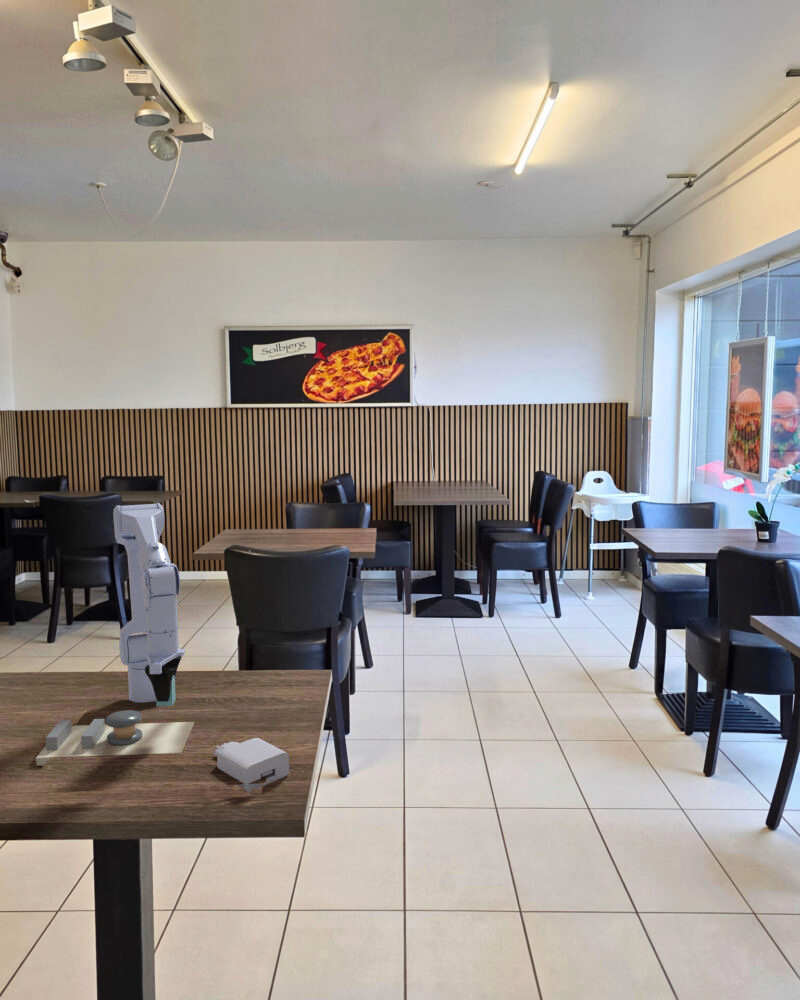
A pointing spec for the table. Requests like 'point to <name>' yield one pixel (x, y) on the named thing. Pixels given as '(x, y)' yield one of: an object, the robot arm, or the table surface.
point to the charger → (252, 762)
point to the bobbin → (124, 728)
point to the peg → (172, 695)
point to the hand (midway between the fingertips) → (164, 697)
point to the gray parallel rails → (64, 730)
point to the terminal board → (152, 742)
